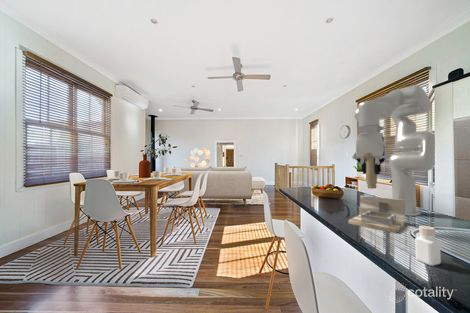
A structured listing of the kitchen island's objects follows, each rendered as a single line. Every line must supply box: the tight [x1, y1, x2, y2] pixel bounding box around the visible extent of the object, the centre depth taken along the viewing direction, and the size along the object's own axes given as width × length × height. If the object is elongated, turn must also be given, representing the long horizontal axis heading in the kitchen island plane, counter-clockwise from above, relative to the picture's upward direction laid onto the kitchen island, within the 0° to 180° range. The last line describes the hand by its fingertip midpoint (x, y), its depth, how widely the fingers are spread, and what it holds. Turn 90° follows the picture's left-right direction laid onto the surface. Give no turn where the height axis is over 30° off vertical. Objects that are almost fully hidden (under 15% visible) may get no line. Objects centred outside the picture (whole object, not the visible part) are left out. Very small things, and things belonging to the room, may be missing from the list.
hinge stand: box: [347, 195, 406, 234], centre depth 91 cm, size 16×17×10 cm
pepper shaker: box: [414, 225, 442, 267], centre depth 57 cm, size 4×4×10 cm
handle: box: [362, 153, 378, 190], centre depth 88 cm, size 5×6×15 cm
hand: (371, 173), depth 88 cm, fingers closed on handle, 4 cm apart
